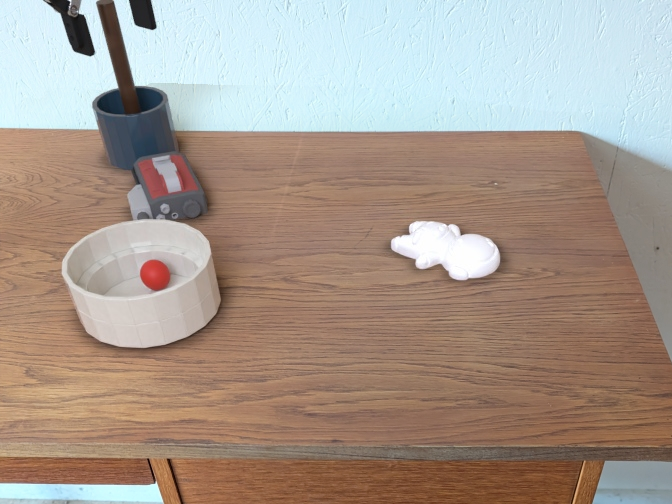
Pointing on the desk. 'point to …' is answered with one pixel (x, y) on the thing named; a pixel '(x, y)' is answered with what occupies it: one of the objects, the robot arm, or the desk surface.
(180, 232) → the bowl
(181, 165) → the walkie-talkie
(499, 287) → the desk surface
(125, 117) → the crock
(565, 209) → the desk surface
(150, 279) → the red ball
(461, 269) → the white animal figurine
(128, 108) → the stick
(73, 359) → the desk surface
